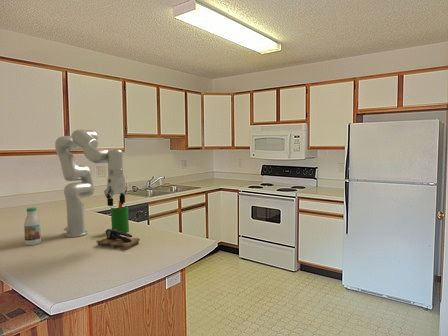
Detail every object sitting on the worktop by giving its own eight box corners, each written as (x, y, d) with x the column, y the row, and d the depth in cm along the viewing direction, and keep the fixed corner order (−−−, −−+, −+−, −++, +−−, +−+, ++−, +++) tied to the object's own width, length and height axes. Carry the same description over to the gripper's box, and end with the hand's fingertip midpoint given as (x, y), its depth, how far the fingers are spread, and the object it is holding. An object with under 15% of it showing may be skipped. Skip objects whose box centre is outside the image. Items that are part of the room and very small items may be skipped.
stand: (96, 245, 176) (96, 240, 175) (110, 240, 186) (110, 235, 186) (127, 249, 169) (127, 244, 168) (140, 243, 179) (139, 238, 179)
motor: (124, 229, 211) (123, 198, 209) (132, 231, 205) (131, 199, 204) (109, 232, 203) (108, 200, 201) (117, 234, 197) (116, 202, 196)
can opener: (102, 239, 177) (102, 229, 177) (112, 236, 183) (112, 226, 183) (126, 243, 169) (126, 233, 168) (136, 240, 175) (135, 230, 175)
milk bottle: (26, 242, 184) (24, 207, 182) (42, 240, 186) (40, 206, 185) (23, 246, 176) (21, 209, 175) (39, 244, 179) (38, 208, 178)
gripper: (110, 174, 165) (111, 207, 167) (131, 171, 181) (132, 201, 183) (98, 173, 168) (99, 206, 169) (120, 171, 184) (121, 201, 185)
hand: (116, 204), depth 176 cm, fingers open, 9 cm apart
